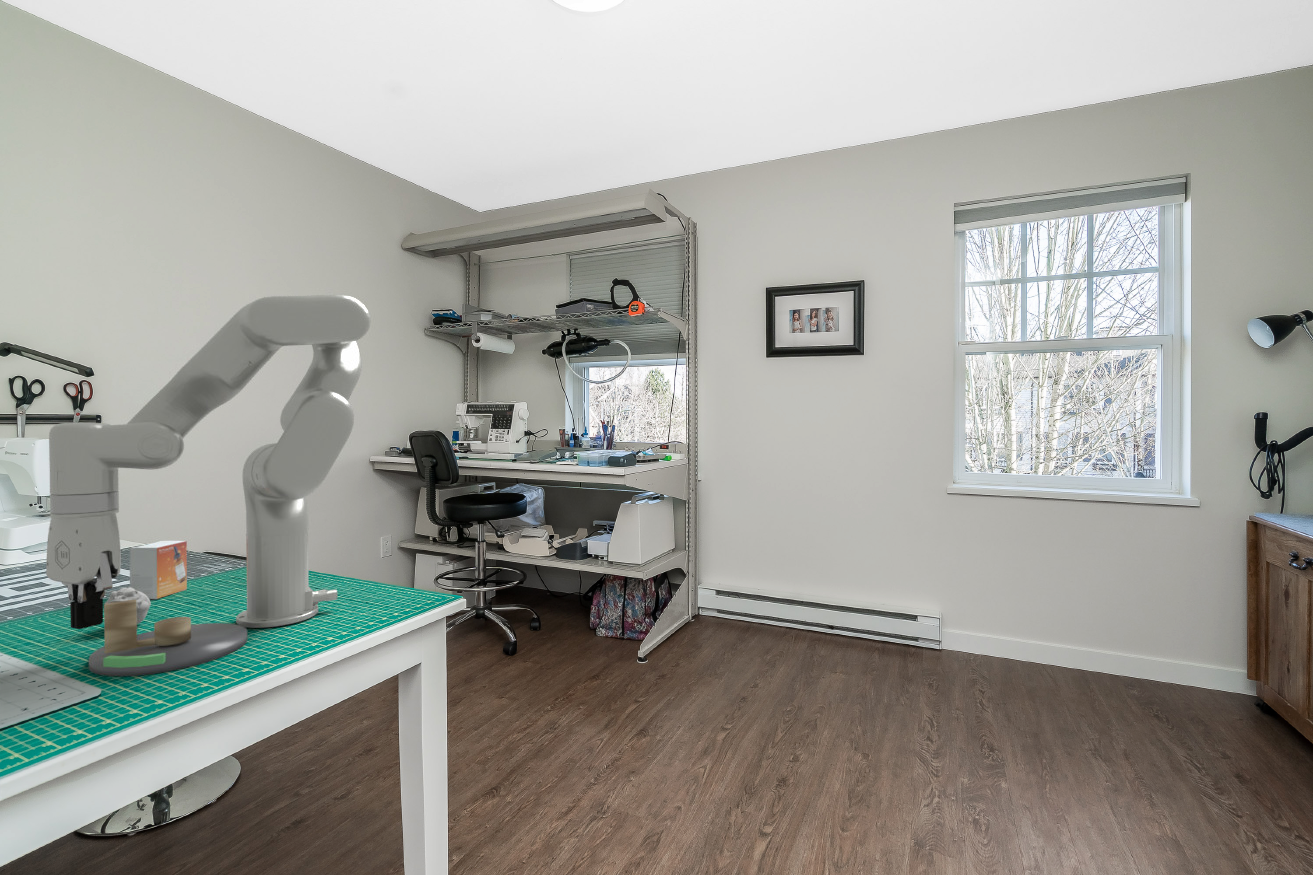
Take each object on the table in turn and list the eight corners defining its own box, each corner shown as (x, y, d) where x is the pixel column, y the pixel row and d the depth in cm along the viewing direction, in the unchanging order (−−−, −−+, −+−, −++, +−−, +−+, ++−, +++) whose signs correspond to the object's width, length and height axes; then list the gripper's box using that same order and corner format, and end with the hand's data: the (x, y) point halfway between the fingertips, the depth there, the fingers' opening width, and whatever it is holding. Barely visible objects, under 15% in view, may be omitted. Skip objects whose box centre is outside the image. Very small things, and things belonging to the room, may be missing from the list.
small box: (156, 600, 121) (156, 547, 120) (128, 599, 121) (128, 547, 120) (188, 589, 129) (187, 540, 128) (162, 589, 129) (161, 540, 128)
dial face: (241, 622, 107) (241, 609, 107) (253, 654, 92) (253, 638, 92) (95, 647, 95) (94, 632, 95) (81, 688, 80) (81, 670, 80)
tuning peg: (190, 633, 96) (190, 590, 96) (191, 641, 93) (190, 596, 93) (106, 647, 90) (105, 601, 90) (103, 656, 87) (103, 608, 87)
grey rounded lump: (93, 635, 100) (93, 593, 100) (118, 622, 107) (118, 583, 107) (137, 632, 102) (137, 591, 102) (159, 619, 108) (159, 580, 108)
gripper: (24, 505, 90) (26, 627, 90) (83, 510, 85) (85, 640, 85) (87, 499, 97) (88, 613, 97) (145, 504, 92) (146, 624, 92)
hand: (87, 625), depth 91 cm, fingers closed
